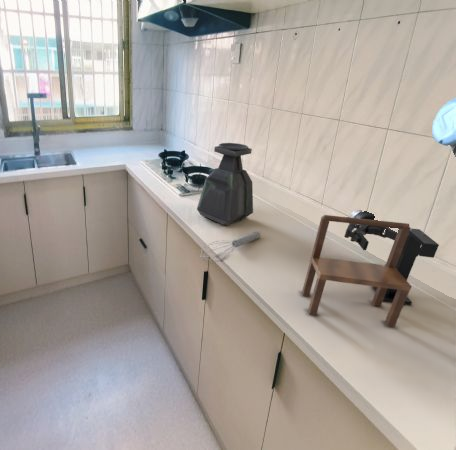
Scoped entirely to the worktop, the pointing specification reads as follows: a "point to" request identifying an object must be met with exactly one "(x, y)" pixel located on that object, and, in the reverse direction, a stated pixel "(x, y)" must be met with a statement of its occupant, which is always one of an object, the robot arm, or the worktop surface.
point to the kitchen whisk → (235, 243)
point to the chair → (359, 269)
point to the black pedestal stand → (411, 257)
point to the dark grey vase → (227, 187)
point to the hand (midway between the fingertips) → (391, 249)
